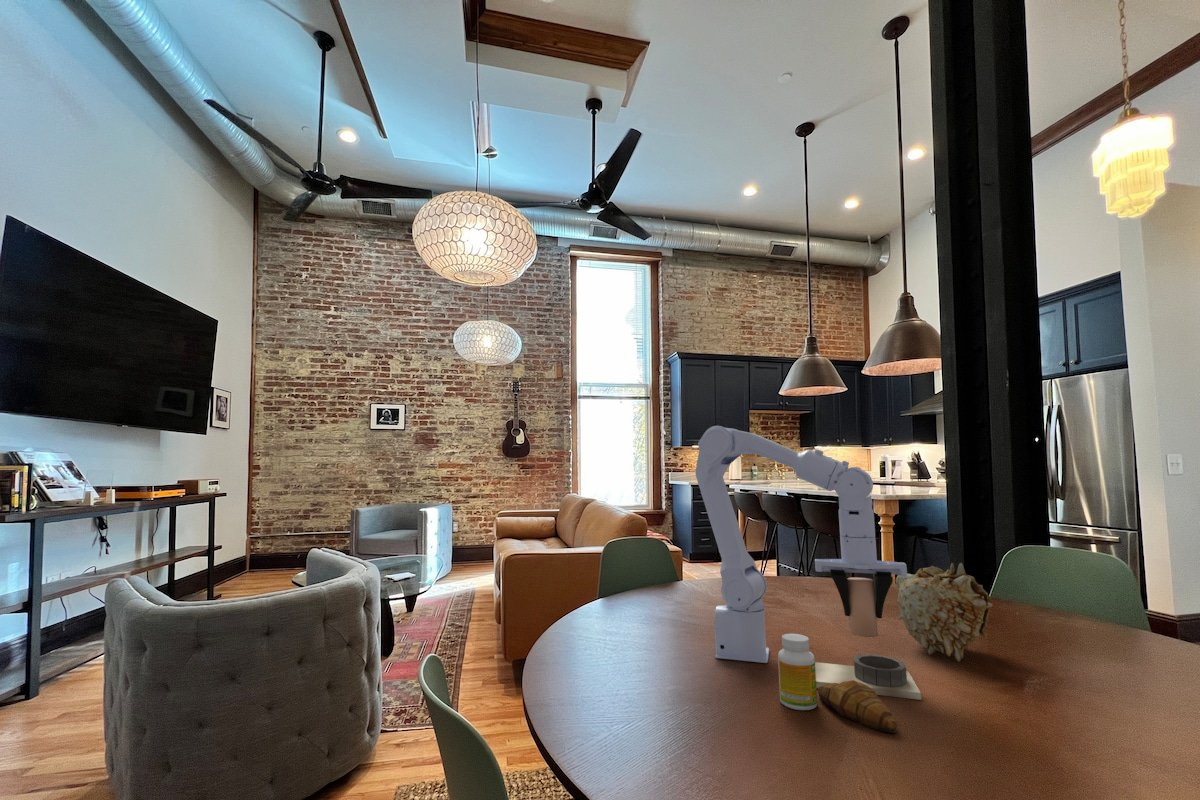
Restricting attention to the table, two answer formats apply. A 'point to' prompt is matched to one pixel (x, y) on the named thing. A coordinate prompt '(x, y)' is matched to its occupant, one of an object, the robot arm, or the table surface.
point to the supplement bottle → (797, 673)
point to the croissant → (858, 704)
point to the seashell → (943, 608)
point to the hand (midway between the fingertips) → (862, 615)
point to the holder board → (848, 675)
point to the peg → (862, 607)
